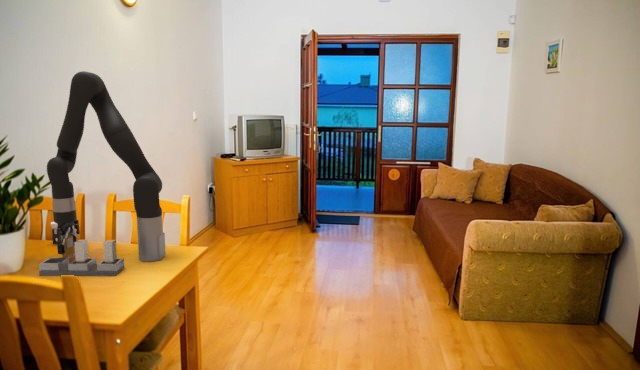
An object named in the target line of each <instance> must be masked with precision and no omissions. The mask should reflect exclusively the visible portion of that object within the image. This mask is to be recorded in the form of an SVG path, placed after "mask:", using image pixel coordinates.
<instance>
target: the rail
mask: <svg viewBox="0 0 640 370" xmlns="http://www.w3.org/2000/svg"><path fill="white" fill-rule="evenodd" d="M116 242H117V241H116V239H106V240H105V241H103V242H102V243H103V244H102V245H103V246H102V247H103V260H100V262H98V261H97V258H96V257H90V256H89V245H88V244H89V243H88V239H77V241H75V242H74V245H75V246H74V253H75V260H73V261H71V262H69V258H62V257H48V258H47V259H45V260H43V261H42V262H40V263H38V268H39V271H38V273H39V274H38V275H39V276H49V277H52V276H53V277H54V276H56V277H58V276H60V277H61V275H76V276H75V277H116V276H117V275H118V274H119V273H120V272H121V271H123V270H124V269H125V258H123V257H117V243H116ZM97 262H98V263H97Z"/></svg>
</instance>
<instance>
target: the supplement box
mask: <svg viewBox="0 0 640 370" xmlns="http://www.w3.org/2000/svg"><path fill="white" fill-rule="evenodd" d="M61 241H62V239H61ZM64 246H65V254H61V258H69V263H71V262H72V261H74V260H75V253H74V243H73V235H68V236H67V239H65V242H64Z"/></svg>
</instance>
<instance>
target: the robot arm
mask: <svg viewBox="0 0 640 370" xmlns="http://www.w3.org/2000/svg"><path fill="white" fill-rule="evenodd" d="M68 96H69V97H68V102H67V107H66V111H65V115H64V119H63V123H62V125H61V129H60V132H59V133H58V137H57V141H56V147H57V153H56V155H55V157H52V158H50V159H49V160H48V161H47V164H46V173H47V177H48V180H49V183H50V186H51V196H52V203H51V205H52V216H53V217H52V219H53V221H54V222H55V223H57V224H58V227H57V228H53V229H52V228H51V233H52V234H51V235H52V245H56V246H57V254H58V255H62V254H65V246H64V242H65V239H67V236H68V235H73V243H74V242H75V241H77V240H78V238H77V237H78V235H80V234H81V229H80V222H79V219H78V217H77V205H76V199H75V192H74V184H73V183H72V182H71V181H70V176H69V173H71V172H72V171H73V170H74V167H75V165H76V162H77V161H76V160H77V154H78V150H79V147H80V143H81V141H82V137H83V134H84V128H85V117H86V113H87V109H88V106H89V104H90V106H91V107H92V109H93V110H94V111H95V113H96V116H97V120H98V123H99V126H100V129H101V132H102V135H103V136H104V139H105V141H106V142H107V144H108V145H109V147H110V148H111V150H112V152H114V154H115V155H116V156H117V157H118V158H119V159H120V160H121V161H122V162H123V163H124V164H126V166H127V167H128V168H129V170H130V171H131V173H132V175H133V177H134V179H135V181H134V182H133V186H132V193H133V195H132V196H133V206H134V211H135V212H136V213H135V214H136V215H135V216H136V230H137V251H138V260H139V261H142V262H155V261H162V259H164V258H165V257H166V238H165V237H166V234H165V232H164V231H163V230H164V229H163V209H162V207H161V205H160V204H161V203H160V193H161V192H162V190H163V181H162V179H161V178H160V176H159V175H158V173H157V172H156V171H155V169H154V168H153V167H152V165H151V164H150V163H149V161H148V160H147V158H146V156H145V154H144V152H143V150H142V149H141V147H140V145H139V143H138V141H137V138H136V137H135V135H134V133H133V132H132V130H131V128H130V127H129V125H128V123H127V122H126V120H125V119H124V117H123V116H122V115H121V112H120V111H119V110H118V109H117V107H116V105H115V103H114V102H113V100H112V97H111V95H110V92H109V91H108V88H107V86H106V84H105V82H104V81H103V79H102V78H101V77H100V76H99V75H98V74H96V73H93V72H89V71H85V70H84V71H79V72H77V73H75V74H74V75H73V76H72V78H71V82H70V87H69V95H68ZM56 238H57V240H56ZM61 239H62V241H61ZM74 246H75V245H74Z"/></svg>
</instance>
